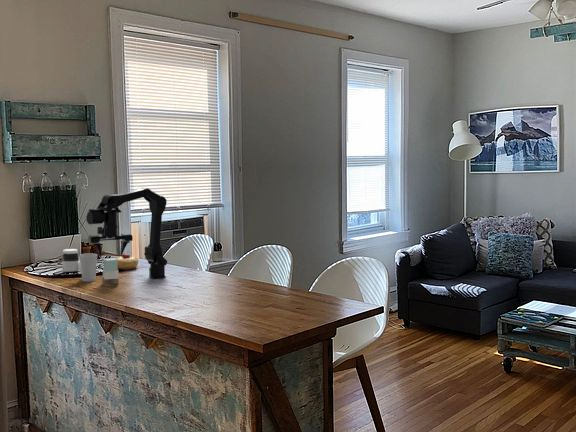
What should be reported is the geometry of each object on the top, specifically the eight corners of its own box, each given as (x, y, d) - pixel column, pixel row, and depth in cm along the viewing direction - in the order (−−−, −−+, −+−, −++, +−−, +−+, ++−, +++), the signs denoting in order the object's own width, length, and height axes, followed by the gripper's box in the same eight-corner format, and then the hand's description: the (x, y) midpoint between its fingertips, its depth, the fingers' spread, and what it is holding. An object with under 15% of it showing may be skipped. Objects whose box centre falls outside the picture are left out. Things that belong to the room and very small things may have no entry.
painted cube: (114, 268, 286) (114, 258, 285) (117, 270, 281) (117, 259, 281) (103, 269, 283) (103, 258, 283) (106, 271, 279) (106, 260, 278)
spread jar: (61, 271, 309) (61, 248, 308) (85, 270, 314) (84, 247, 312) (63, 276, 298) (63, 252, 297) (88, 274, 303) (87, 251, 302)
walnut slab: (115, 283, 287) (115, 275, 287) (118, 285, 282) (118, 278, 282) (102, 284, 284) (102, 276, 284) (105, 287, 279) (104, 279, 279)
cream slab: (116, 275, 287) (116, 268, 286) (118, 278, 281) (118, 270, 281) (102, 276, 284) (102, 269, 284) (104, 279, 279) (104, 271, 278)
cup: (86, 282, 286) (86, 257, 285) (76, 280, 291) (75, 254, 290) (101, 279, 293) (100, 254, 291) (90, 277, 297) (90, 252, 296)
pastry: (109, 269, 316) (109, 252, 315) (122, 265, 328) (122, 248, 327) (130, 271, 313) (130, 254, 312) (142, 267, 324) (142, 250, 323)
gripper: (126, 219, 292) (126, 252, 293) (85, 221, 282) (85, 255, 284) (132, 222, 282) (133, 256, 284) (90, 224, 273) (91, 259, 275)
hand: (110, 256), depth 282 cm, fingers open, 9 cm apart
